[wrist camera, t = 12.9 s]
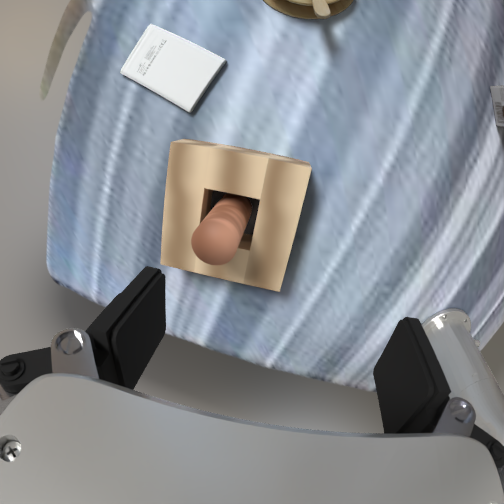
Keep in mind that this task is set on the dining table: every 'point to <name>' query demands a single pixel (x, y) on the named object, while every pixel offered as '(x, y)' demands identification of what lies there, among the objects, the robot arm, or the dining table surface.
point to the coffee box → (498, 104)
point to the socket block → (241, 183)
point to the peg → (222, 230)
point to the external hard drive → (172, 67)
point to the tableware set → (309, 7)
